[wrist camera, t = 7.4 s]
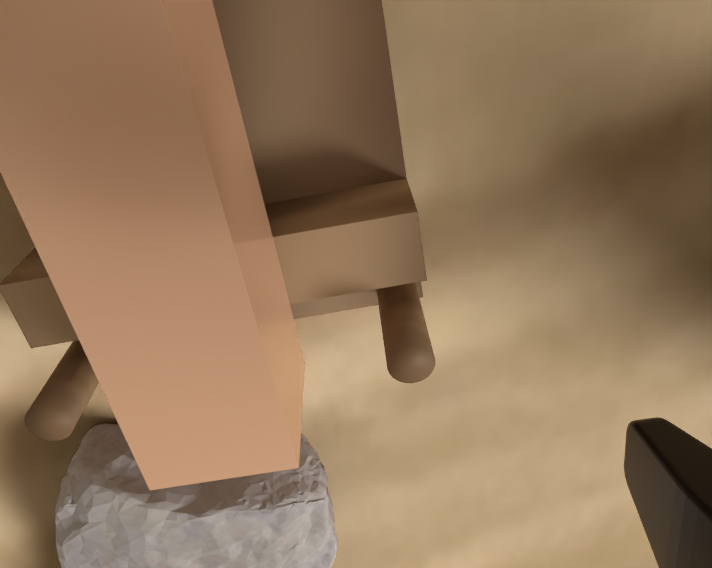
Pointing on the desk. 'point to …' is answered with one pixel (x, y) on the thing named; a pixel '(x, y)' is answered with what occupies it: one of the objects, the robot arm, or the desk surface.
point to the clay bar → (154, 229)
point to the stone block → (190, 514)
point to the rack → (292, 188)
